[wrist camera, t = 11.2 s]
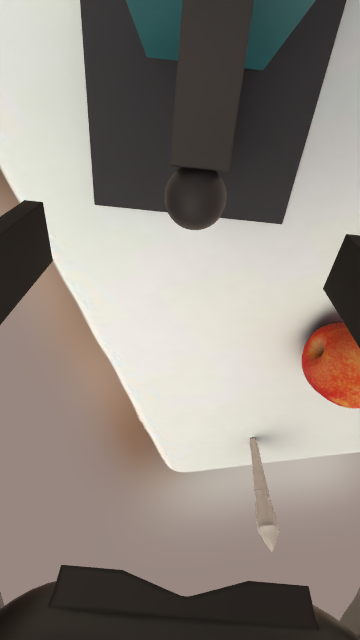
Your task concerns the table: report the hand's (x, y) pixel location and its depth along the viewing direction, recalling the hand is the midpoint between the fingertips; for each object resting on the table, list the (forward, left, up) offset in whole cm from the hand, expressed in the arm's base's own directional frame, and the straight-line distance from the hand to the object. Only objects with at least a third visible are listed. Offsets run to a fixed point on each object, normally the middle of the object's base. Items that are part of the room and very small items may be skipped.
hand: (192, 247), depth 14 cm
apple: (+15, +17, -14) cm, 27 cm away
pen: (+35, +13, -14) cm, 40 cm away
